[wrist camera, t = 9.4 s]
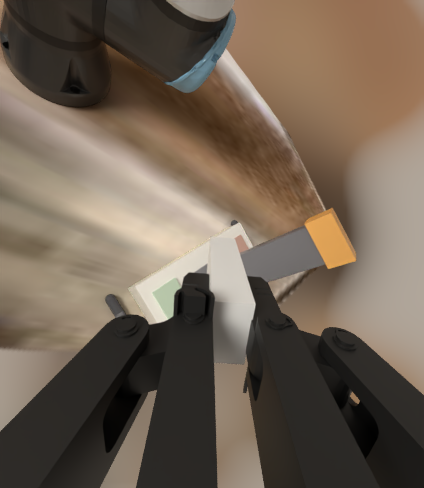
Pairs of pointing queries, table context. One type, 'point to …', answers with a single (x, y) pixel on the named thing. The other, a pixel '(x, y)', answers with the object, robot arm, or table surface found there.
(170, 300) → the breaker housing
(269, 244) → the lever
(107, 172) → the table surface
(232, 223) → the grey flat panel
